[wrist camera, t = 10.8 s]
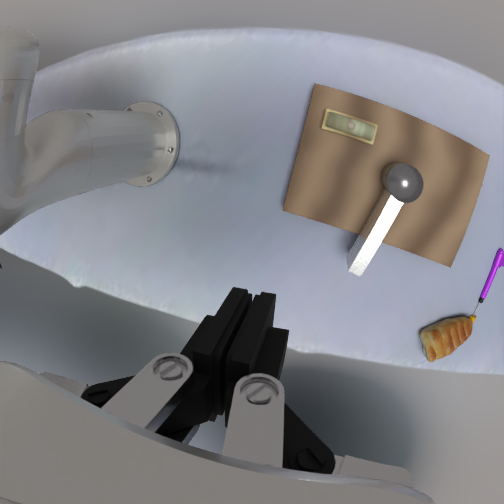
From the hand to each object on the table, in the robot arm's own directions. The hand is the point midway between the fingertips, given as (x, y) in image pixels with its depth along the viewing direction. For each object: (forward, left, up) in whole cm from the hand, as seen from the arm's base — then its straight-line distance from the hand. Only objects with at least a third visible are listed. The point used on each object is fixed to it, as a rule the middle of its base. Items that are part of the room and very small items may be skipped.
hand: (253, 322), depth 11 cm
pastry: (+28, -13, -27) cm, 41 cm away
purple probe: (+33, -5, -28) cm, 43 cm away
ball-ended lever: (+9, +1, -25) cm, 26 cm away
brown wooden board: (+10, +6, -27) cm, 30 cm away
